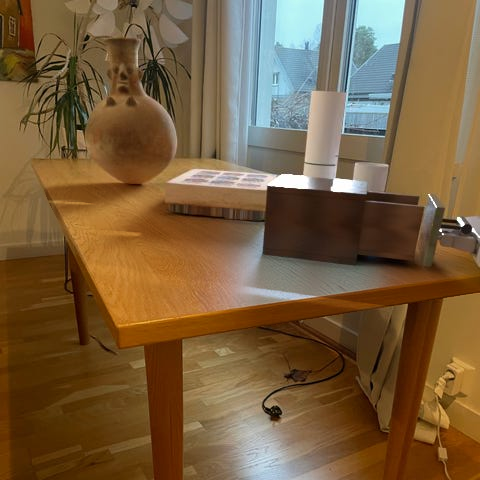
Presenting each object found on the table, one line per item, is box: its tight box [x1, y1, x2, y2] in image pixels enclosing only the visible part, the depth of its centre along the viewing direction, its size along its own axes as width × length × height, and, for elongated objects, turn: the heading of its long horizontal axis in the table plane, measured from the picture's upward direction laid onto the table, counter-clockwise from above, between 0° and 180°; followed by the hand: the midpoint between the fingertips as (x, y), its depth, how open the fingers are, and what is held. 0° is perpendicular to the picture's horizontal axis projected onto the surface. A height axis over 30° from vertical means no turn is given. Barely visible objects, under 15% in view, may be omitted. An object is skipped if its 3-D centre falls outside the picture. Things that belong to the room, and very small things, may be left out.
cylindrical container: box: [302, 90, 347, 179], centre depth 104 cm, size 7×7×25 cm
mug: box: [352, 161, 390, 193], centre depth 101 cm, size 10×7×12 cm, turn 161°
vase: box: [84, 36, 178, 185], centre depth 125 cm, size 24×24×35 cm
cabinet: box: [262, 174, 368, 266], centre depth 80 cm, size 15×13×11 cm
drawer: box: [357, 191, 472, 268], centre depth 76 cm, size 19×12×9 cm, turn 75°
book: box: [164, 168, 279, 222], centre depth 110 cm, size 25×6×28 cm
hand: (439, 236), depth 76 cm, fingers closed
